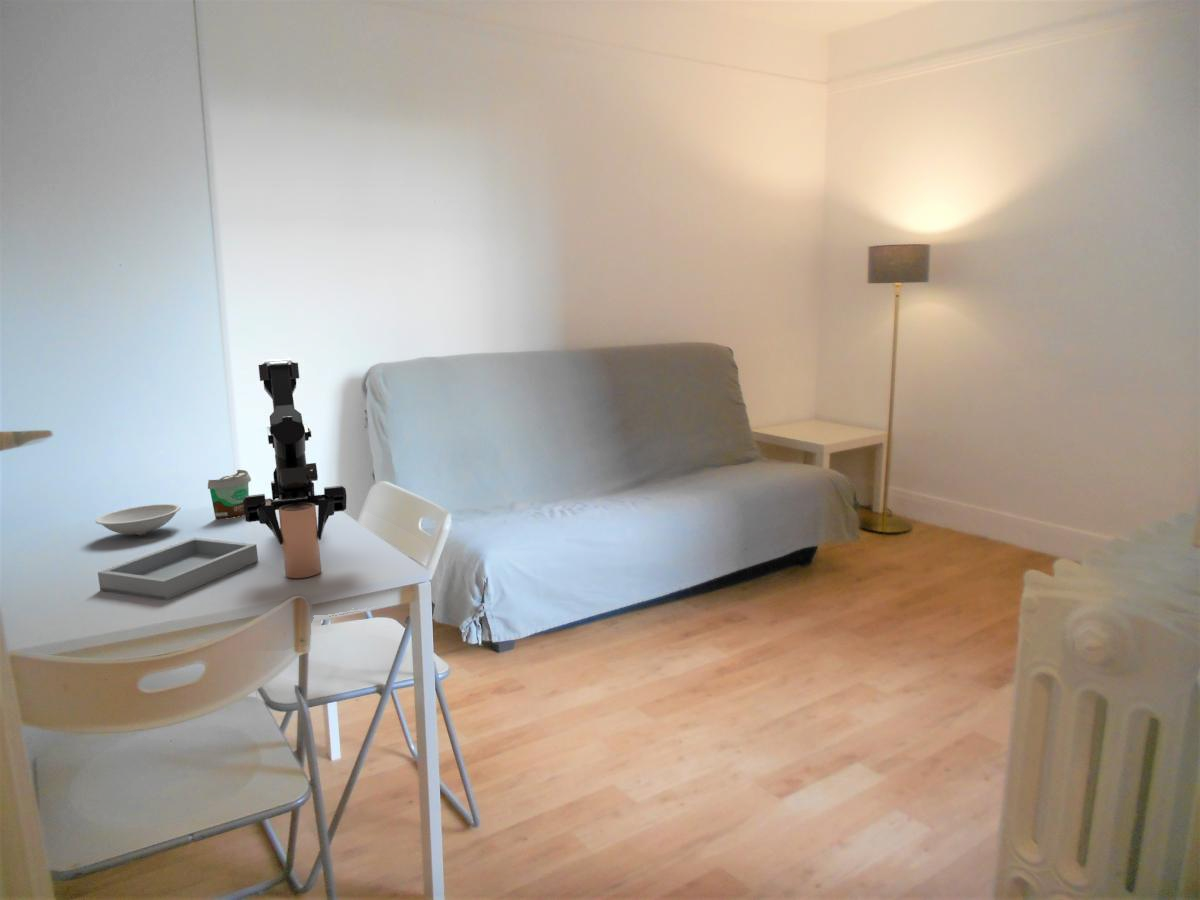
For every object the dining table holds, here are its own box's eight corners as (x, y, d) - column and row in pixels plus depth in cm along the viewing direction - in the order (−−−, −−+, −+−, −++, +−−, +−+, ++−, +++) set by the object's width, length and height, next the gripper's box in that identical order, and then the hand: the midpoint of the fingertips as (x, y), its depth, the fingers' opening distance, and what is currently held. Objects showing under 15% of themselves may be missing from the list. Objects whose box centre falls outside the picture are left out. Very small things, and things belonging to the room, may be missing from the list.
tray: (196, 553, 176) (194, 537, 175) (258, 560, 170) (256, 544, 169) (100, 590, 155) (97, 572, 155) (166, 600, 149) (163, 581, 149)
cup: (293, 566, 165) (287, 502, 162) (326, 566, 164) (320, 502, 162) (279, 578, 158) (272, 511, 156) (313, 578, 158) (307, 511, 155)
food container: (234, 521, 200) (229, 481, 198) (211, 520, 201) (206, 480, 199) (264, 508, 211) (260, 469, 210) (242, 507, 213) (238, 469, 211)
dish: (166, 520, 202) (164, 500, 201) (195, 530, 194) (192, 509, 193) (87, 538, 189) (84, 517, 188) (114, 549, 180) (110, 527, 179)
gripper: (238, 454, 157) (244, 526, 149) (341, 445, 164) (352, 513, 156) (242, 486, 166) (248, 556, 158) (340, 476, 172) (351, 542, 165)
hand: (300, 541), depth 159 cm, fingers closed on cup, 7 cm apart
